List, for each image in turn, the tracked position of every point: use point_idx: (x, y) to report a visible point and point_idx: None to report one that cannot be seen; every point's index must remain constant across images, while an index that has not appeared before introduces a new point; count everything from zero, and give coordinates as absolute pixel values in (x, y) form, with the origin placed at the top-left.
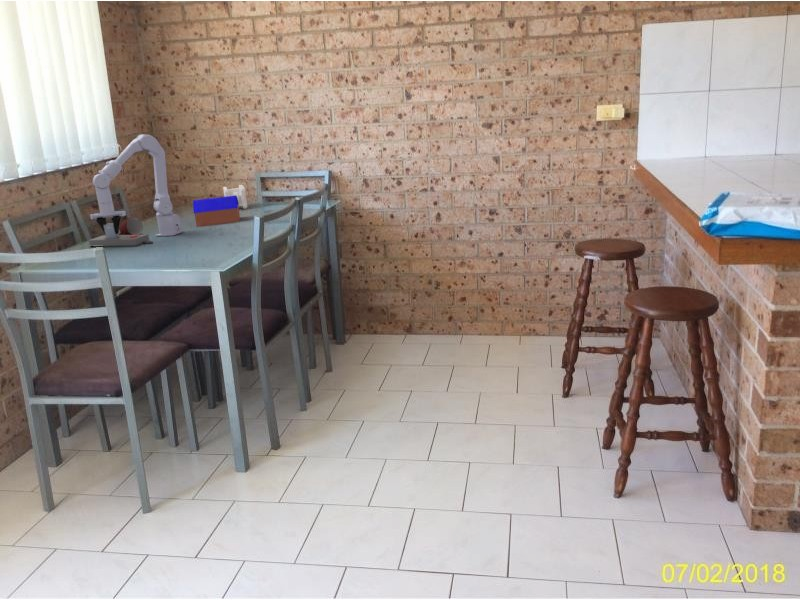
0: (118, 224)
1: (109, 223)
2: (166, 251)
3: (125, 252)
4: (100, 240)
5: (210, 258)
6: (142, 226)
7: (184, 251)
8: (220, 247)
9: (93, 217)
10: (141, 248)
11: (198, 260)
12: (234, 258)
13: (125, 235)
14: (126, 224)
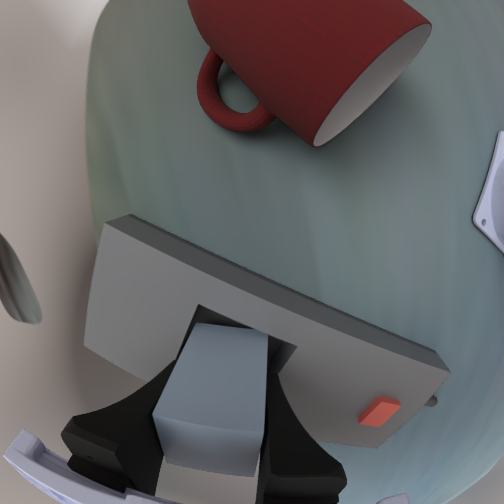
0: (292, 427)
1: (195, 438)
2: (424, 473)
3: None
4: None
5: (449, 491)
6: (414, 54)
7: (448, 471)
8: (496, 447)
9: (49, 465)
10: (381, 451)
11: (434, 499)
12: (466, 487)
13: (322, 343)
14: (321, 124)
